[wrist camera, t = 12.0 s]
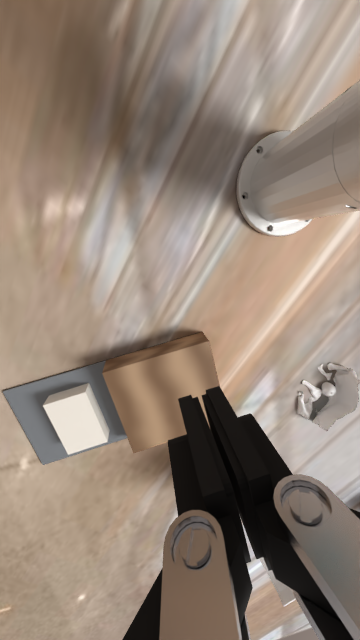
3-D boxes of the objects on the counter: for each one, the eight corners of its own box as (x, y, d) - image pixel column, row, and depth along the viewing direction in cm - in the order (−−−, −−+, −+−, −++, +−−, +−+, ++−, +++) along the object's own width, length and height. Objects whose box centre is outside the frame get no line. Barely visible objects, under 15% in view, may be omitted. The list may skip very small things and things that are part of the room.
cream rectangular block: (42, 405, 34) (49, 395, 37) (68, 454, 37) (72, 442, 39) (85, 392, 35) (88, 382, 37) (107, 441, 37) (109, 430, 40)
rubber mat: (106, 360, 37) (105, 361, 37) (134, 434, 41) (134, 435, 41) (3, 390, 36) (2, 391, 35) (43, 463, 40) (42, 465, 40)
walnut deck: (202, 331, 38) (209, 340, 34) (220, 406, 42) (228, 422, 38) (106, 360, 37) (102, 373, 33) (134, 434, 41) (133, 453, 37)
